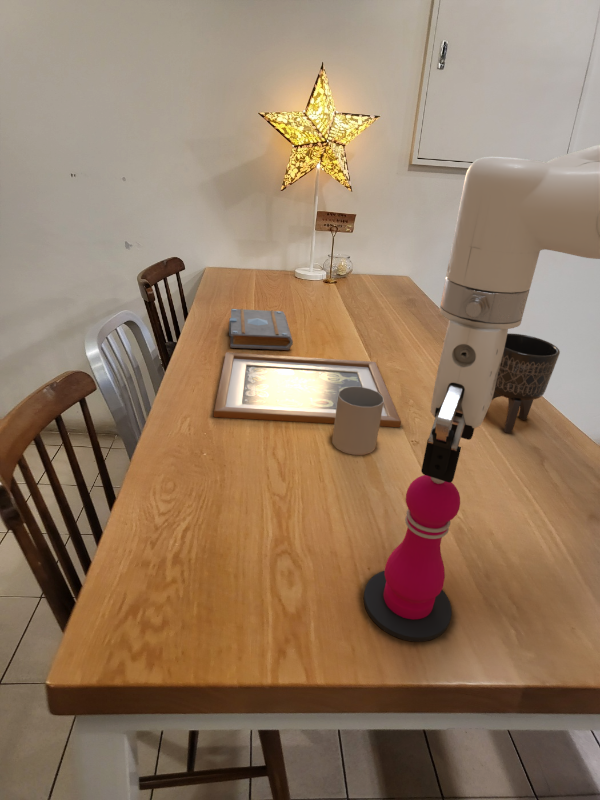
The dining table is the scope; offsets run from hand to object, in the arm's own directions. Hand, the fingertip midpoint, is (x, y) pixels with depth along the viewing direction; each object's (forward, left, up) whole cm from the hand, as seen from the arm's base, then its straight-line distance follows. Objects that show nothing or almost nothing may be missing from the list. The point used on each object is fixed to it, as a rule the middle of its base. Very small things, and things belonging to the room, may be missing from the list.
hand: (447, 454), depth 58 cm
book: (-5, -96, -23) cm, 99 cm away
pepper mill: (0, 0, -22) cm, 22 cm away
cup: (-9, -38, -23) cm, 45 cm away
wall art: (-7, -62, -23) cm, 67 cm away
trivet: (0, 0, -23) cm, 23 cm away
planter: (-46, -41, -23) cm, 65 cm away
